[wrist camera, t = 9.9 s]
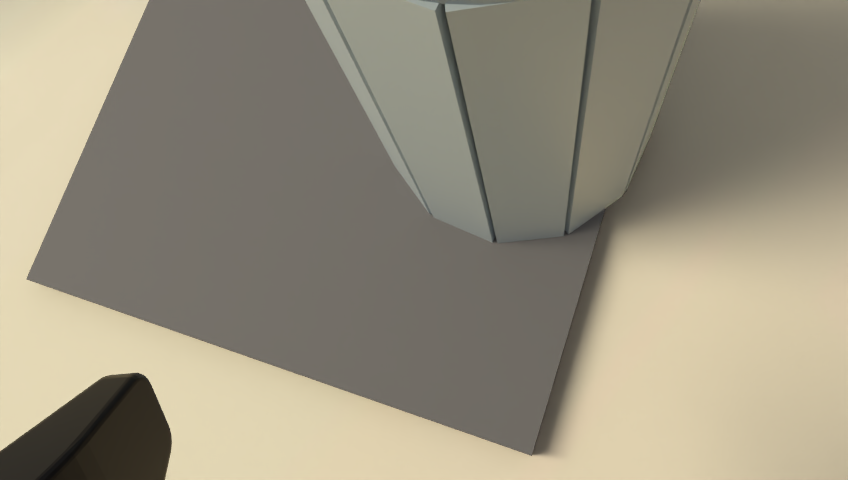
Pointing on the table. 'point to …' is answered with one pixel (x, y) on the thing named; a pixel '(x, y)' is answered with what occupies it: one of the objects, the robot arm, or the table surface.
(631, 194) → the table surface
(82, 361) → the table surface
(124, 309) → the mat
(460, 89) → the cover
